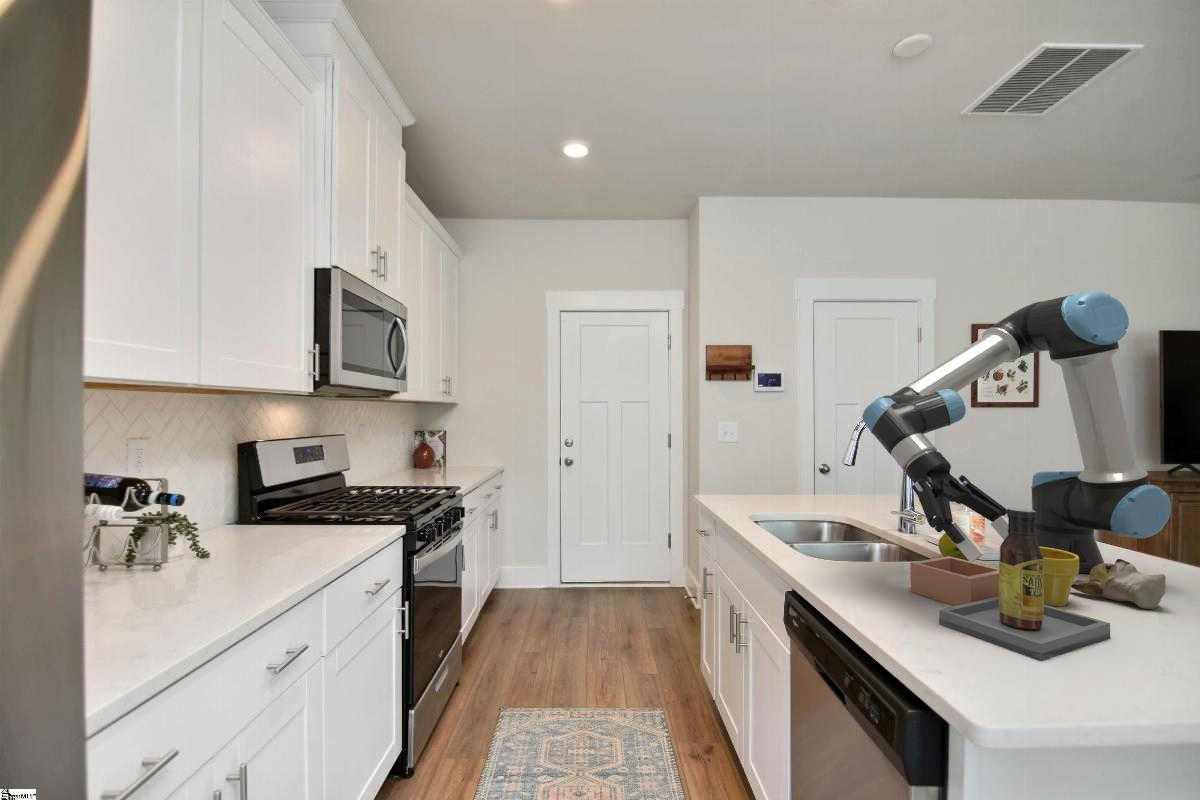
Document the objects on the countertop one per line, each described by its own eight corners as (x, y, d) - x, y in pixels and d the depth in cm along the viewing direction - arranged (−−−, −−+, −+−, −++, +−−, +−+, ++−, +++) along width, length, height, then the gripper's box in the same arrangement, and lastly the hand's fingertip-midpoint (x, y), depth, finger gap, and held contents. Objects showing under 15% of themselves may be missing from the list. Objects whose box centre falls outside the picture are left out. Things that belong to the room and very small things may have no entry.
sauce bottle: (1029, 634, 93) (1028, 513, 93) (990, 621, 99) (989, 507, 99) (1053, 628, 95) (1051, 511, 96) (1013, 615, 101) (1012, 505, 101)
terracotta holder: (948, 583, 123) (948, 556, 123) (1010, 601, 112) (1009, 571, 112) (910, 591, 118) (910, 562, 118) (970, 610, 107) (970, 578, 107)
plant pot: (1093, 612, 106) (1092, 560, 106) (1030, 608, 108) (1030, 557, 108) (1059, 594, 116) (1059, 546, 116) (1003, 591, 118) (1003, 544, 118)
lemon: (943, 556, 146) (943, 525, 146) (979, 562, 141) (979, 529, 141) (933, 564, 138) (933, 532, 138) (970, 571, 133) (970, 537, 133)
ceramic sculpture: (1146, 568, 104) (1057, 553, 118) (1150, 616, 103) (1060, 595, 118) (1181, 563, 108) (1091, 550, 122) (1185, 610, 107) (1094, 591, 121)
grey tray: (1007, 607, 108) (1007, 594, 108) (1110, 638, 94) (1110, 623, 94) (939, 623, 100) (939, 609, 100) (1040, 660, 85) (1040, 644, 85)
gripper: (948, 470, 121) (1025, 557, 107) (866, 476, 111) (941, 573, 97) (973, 447, 116) (1057, 535, 103) (890, 451, 106) (972, 549, 92)
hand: (1001, 554), depth 100 cm, fingers open, 13 cm apart
